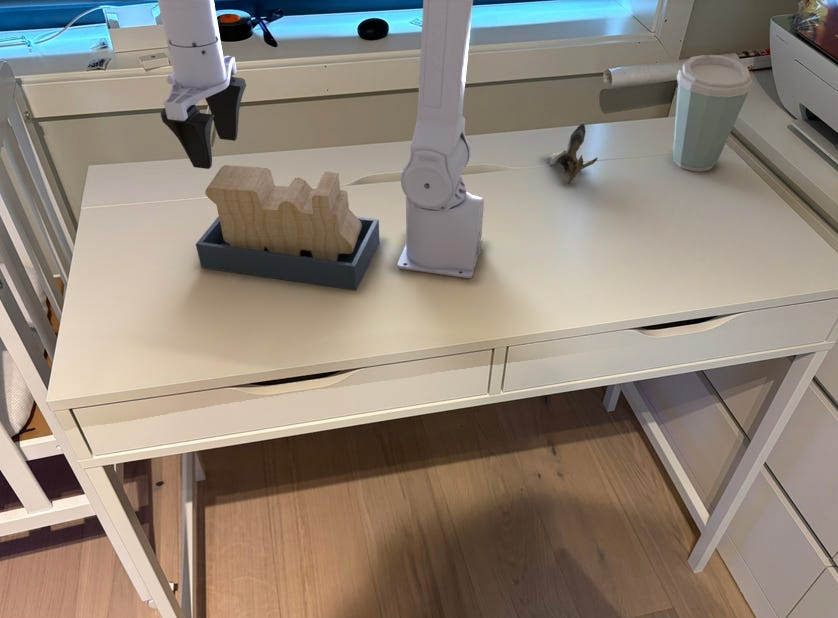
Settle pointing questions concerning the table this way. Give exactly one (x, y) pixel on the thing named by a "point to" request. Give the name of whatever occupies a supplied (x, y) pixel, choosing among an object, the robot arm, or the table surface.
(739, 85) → the disposable coffee cup
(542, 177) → the table surface
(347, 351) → the table surface
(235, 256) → the open box
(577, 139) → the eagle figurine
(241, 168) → the toy train
